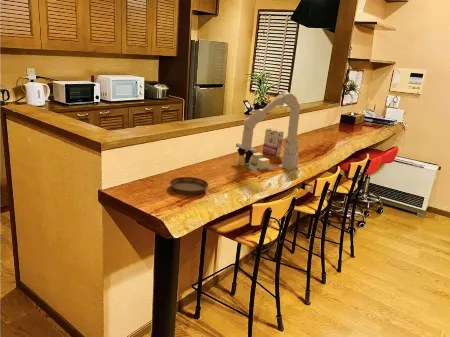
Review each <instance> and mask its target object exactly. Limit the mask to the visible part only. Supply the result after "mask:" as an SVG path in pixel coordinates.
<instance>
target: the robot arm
mask: <svg viewBox="0 0 450 337" xmlns="http://www.w3.org/2000/svg"><path fill="white" fill-rule="evenodd" d="M285 105H286V106H287V107H288V108H289V109H290V110H289V111H290V113H289V118H288V119H289V120H288V128H287V130H288V131H287V136H286V138H285V141H284V143H283V148H284V150H283V154H282V162H281V164H279V165H278V167H280V168H282V169H286V170H293V169H297V168H299V166H298V163H299V154H298V151H299V145H298V139H297V138H298V137H297V136H298V128H299V120H300V112H301V106H300V103H299V101H298V99H297V97H296V96H295V94H293V93H290V92H288V91H283V92H281V93H280V94H278V95H277V96H276V97H275V98H274V99H273V100H271V102H269V103H268V104H267V105H265V107H263V108H259V109H255V111H254V112H253V113H252V114H251V115H249V116H248V117H247V118H245V119H244V120H243V121H242V123H243V124H242V125H243V131H242V138H241V143H235V148H237V153H238V155H246V159H245V163H249V160H250V159H251V158H252V155H253V154H254V153H258V150H257V149H256V148H254V147H252V142H253V136H254V129H255V128H256V125H258V124H259V123H260V122H262V121H263V120H264V119H265V118H266V117H267V114H268V113H270V112H272V110H274V109H275V108H276V107H278V106H285Z"/></svg>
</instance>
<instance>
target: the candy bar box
mask: <svg viewBox="0 0 450 337" xmlns="http://www.w3.org/2000/svg"><path fill="white" fill-rule="evenodd" d="M283 139H284V131H281V130H277V129H273V128H266V129H265V134H264V139H263V147H262V154H266V155H268V156H271V157H273V158H279V157H281V152H282V145H283Z"/></svg>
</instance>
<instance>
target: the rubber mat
mask: <svg viewBox="0 0 450 337" xmlns="http://www.w3.org/2000/svg"><path fill="white" fill-rule="evenodd" d="M238 162H239V161H235V162H233V163H234V164H235V165H239V166H241V167H243V168H245V169H248V170H251V171H253V172H256V173H259V172H263V171H267V170H271V169H275V168H276V169H277V166H275V165H272V164H270V163H269V167H268V168H266V169H259V168H257V164H258V163H256V164H255V163H253V162H251V158H250V164H248V165H240V164H238Z"/></svg>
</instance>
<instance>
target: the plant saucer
mask: <svg viewBox="0 0 450 337" xmlns="http://www.w3.org/2000/svg"><path fill="white" fill-rule="evenodd" d="M169 185H170V187H171V188H172V190H173V191H175V192H176V193H178V194H181V193H182V195H188V196H189V195H190V196H191V195H199V194H202V193H203V192H204V191H205V190H207V188H208V187H209V183H208V181H207V180H204V179H202V178H197V177H192V176H181V177H175V178H173V179H171V180H170V181H169Z"/></svg>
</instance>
